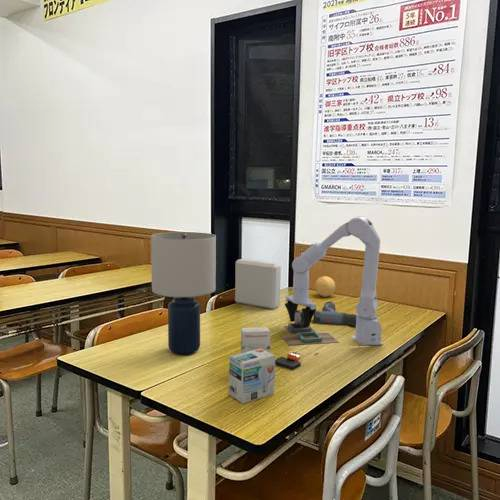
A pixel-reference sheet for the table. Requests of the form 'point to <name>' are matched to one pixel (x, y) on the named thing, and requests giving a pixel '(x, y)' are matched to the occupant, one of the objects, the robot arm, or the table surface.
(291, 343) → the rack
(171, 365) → the table surface
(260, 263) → the bevelled white case
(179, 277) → the lamp
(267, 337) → the ink box
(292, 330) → the socket block
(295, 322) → the peg
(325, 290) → the stress ball
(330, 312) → the power drill
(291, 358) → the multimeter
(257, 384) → the light bulb box
